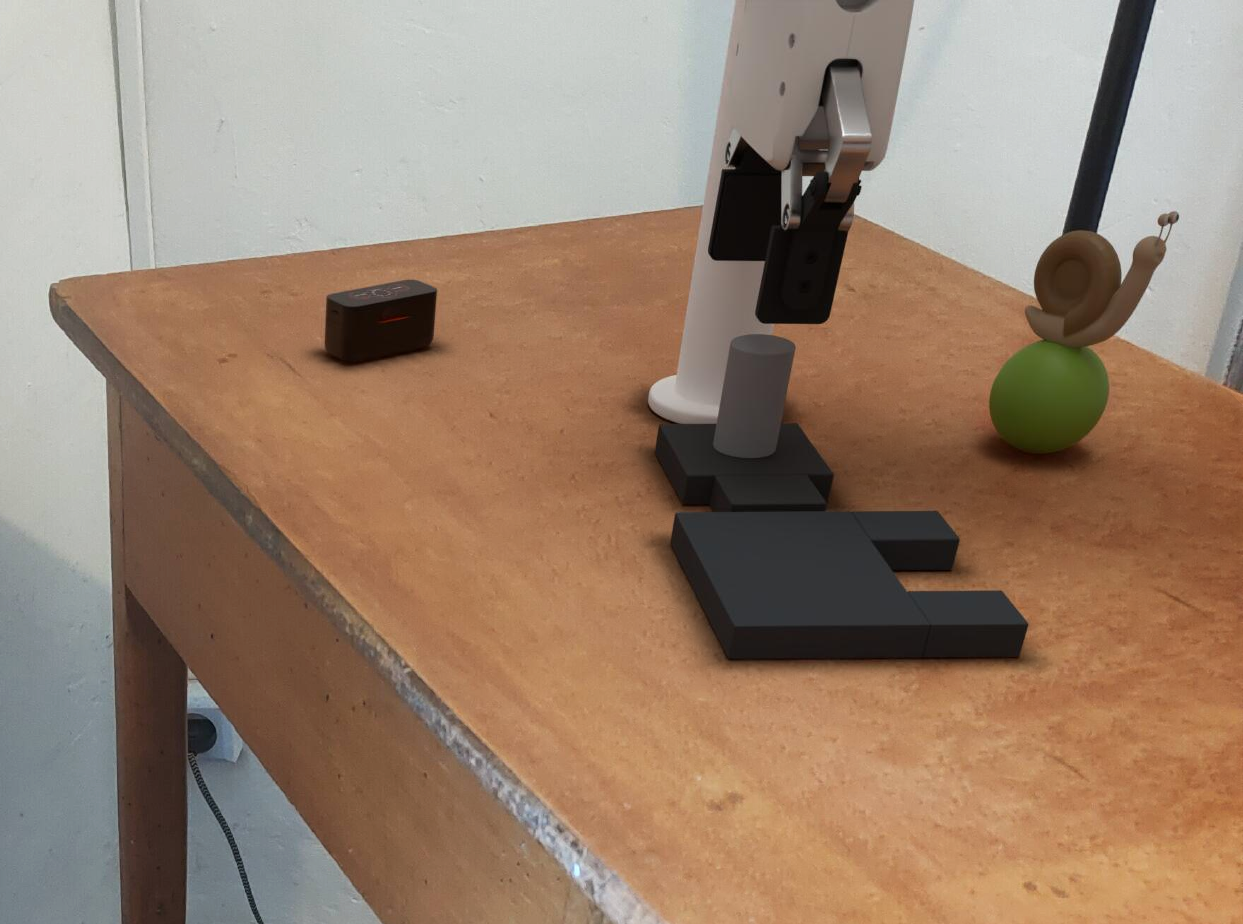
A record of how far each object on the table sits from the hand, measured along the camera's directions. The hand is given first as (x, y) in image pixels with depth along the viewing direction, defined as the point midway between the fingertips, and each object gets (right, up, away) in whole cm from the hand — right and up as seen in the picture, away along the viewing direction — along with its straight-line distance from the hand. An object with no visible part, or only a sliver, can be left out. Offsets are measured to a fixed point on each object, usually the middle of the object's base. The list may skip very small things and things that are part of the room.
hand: (764, 289), depth 88 cm
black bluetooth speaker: (-15, +6, +22) cm, 28 cm away
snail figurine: (+17, -5, +8) cm, 19 cm away
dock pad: (+1, -16, -5) cm, 17 cm away
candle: (+2, -1, +13) cm, 14 cm away
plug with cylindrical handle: (0, -8, +4) cm, 9 cm away
